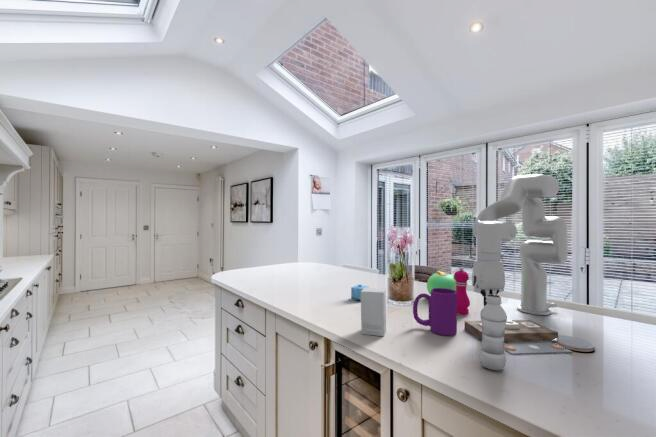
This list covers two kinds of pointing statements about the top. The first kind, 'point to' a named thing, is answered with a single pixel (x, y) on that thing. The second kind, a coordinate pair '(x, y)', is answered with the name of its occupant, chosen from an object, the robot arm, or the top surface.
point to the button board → (517, 332)
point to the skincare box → (373, 311)
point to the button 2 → (529, 325)
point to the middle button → (511, 325)
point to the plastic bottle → (493, 334)
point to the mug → (439, 311)
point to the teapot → (357, 291)
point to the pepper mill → (462, 291)
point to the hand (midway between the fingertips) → (488, 308)
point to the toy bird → (441, 281)
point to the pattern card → (534, 348)
